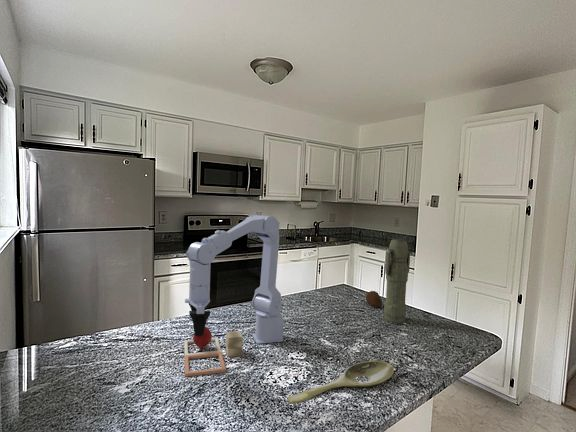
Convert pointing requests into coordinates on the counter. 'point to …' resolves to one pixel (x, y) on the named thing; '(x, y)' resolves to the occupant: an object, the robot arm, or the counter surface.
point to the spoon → (350, 379)
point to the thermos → (396, 280)
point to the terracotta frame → (208, 371)
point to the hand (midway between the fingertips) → (198, 330)
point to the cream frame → (201, 352)
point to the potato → (373, 299)
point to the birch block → (234, 343)
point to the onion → (203, 338)
